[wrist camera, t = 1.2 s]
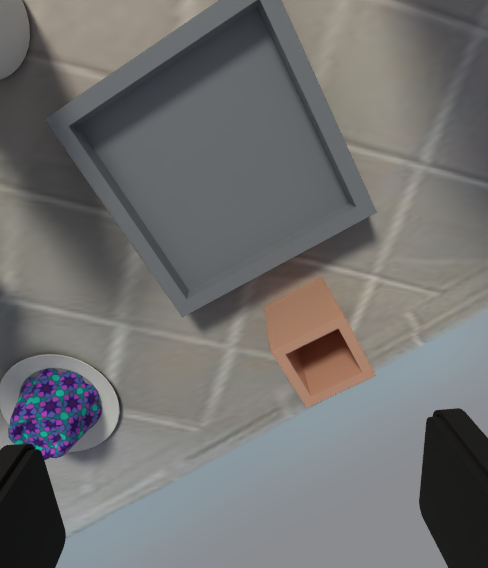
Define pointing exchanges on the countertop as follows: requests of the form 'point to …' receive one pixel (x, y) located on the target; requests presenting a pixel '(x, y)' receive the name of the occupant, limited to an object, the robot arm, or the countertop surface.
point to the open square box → (315, 343)
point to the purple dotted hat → (57, 405)
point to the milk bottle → (13, 36)
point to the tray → (216, 152)
